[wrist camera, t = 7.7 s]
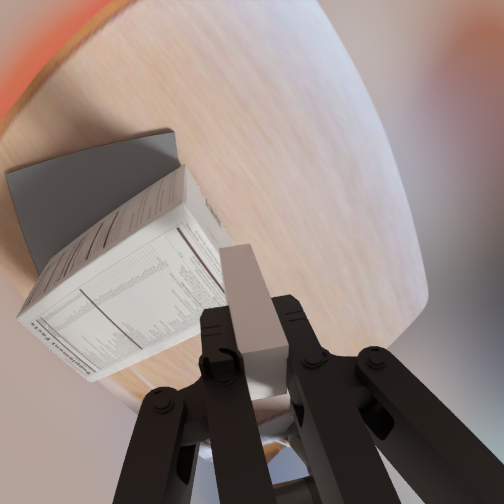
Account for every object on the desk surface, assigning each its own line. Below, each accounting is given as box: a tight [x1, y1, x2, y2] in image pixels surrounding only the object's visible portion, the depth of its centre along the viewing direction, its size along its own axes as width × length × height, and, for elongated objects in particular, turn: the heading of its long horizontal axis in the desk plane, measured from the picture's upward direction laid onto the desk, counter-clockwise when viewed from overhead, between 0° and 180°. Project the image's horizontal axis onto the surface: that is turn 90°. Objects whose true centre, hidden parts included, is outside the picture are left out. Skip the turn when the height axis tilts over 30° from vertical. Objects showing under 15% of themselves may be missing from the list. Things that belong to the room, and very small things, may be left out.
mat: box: [6, 132, 179, 276], centre depth 25 cm, size 13×17×1 cm
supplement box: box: [17, 165, 236, 382], centre depth 23 cm, size 10×9×17 cm
